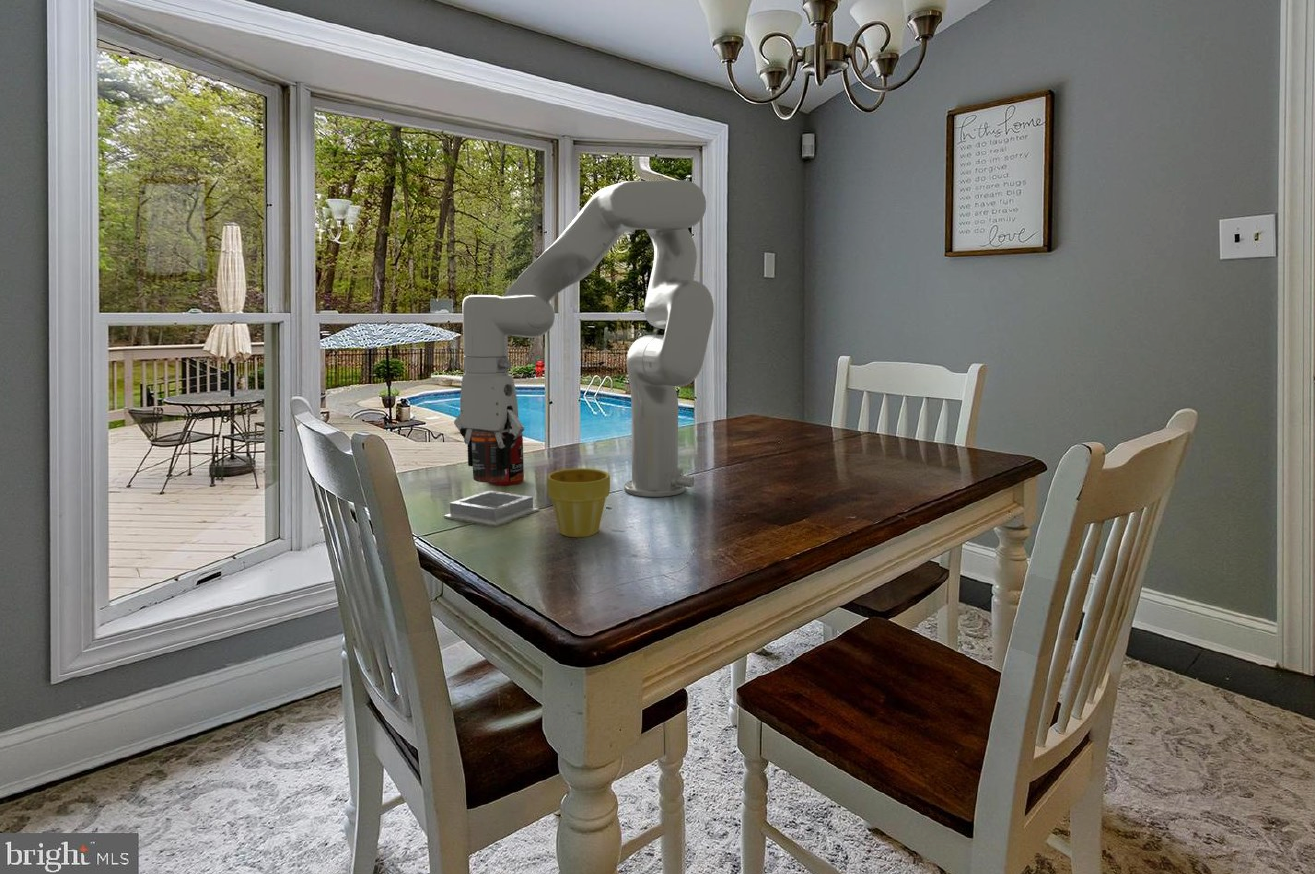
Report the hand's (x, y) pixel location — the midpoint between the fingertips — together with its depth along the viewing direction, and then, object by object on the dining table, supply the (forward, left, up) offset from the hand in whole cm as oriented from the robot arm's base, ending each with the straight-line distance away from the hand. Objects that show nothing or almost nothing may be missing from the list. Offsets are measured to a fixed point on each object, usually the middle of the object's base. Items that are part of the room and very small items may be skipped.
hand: (489, 466), depth 132 cm
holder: (0, 0, -9) cm, 9 cm away
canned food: (+15, -21, -9) cm, 27 cm away
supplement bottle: (0, 0, -3) cm, 3 cm away
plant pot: (-20, +1, -9) cm, 22 cm away
